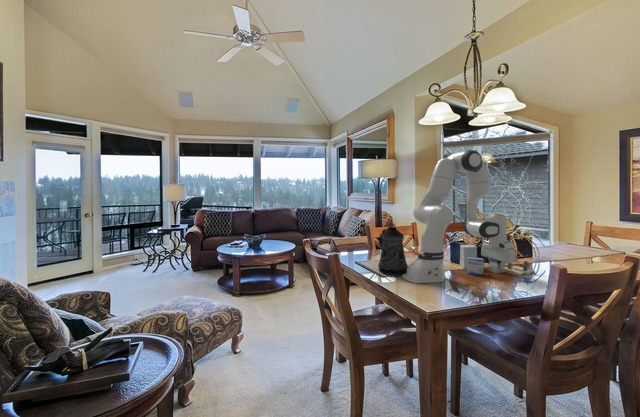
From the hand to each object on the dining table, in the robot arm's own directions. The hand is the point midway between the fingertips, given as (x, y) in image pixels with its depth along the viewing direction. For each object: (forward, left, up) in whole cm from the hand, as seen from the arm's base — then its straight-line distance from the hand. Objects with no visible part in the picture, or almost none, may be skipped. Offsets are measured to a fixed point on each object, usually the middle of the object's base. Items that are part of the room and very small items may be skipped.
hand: (496, 267), depth 182 cm
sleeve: (0, 0, -2) cm, 2 cm away
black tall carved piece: (-54, +23, -3) cm, 58 cm away
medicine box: (-14, +1, -3) cm, 14 cm away
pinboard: (+10, -4, -2) cm, 11 cm away
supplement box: (-7, +14, -3) cm, 16 cm away
